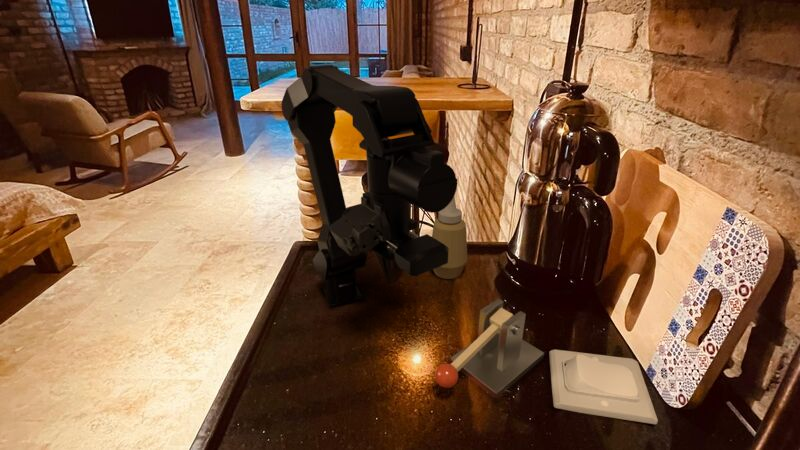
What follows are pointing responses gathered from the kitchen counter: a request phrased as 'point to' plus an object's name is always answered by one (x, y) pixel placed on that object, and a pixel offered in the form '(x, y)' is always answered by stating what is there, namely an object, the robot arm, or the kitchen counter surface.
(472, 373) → the bracket
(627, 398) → the light switch
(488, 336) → the lever
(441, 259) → the robot arm
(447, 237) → the squeeze bottle
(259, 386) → the kitchen counter surface
